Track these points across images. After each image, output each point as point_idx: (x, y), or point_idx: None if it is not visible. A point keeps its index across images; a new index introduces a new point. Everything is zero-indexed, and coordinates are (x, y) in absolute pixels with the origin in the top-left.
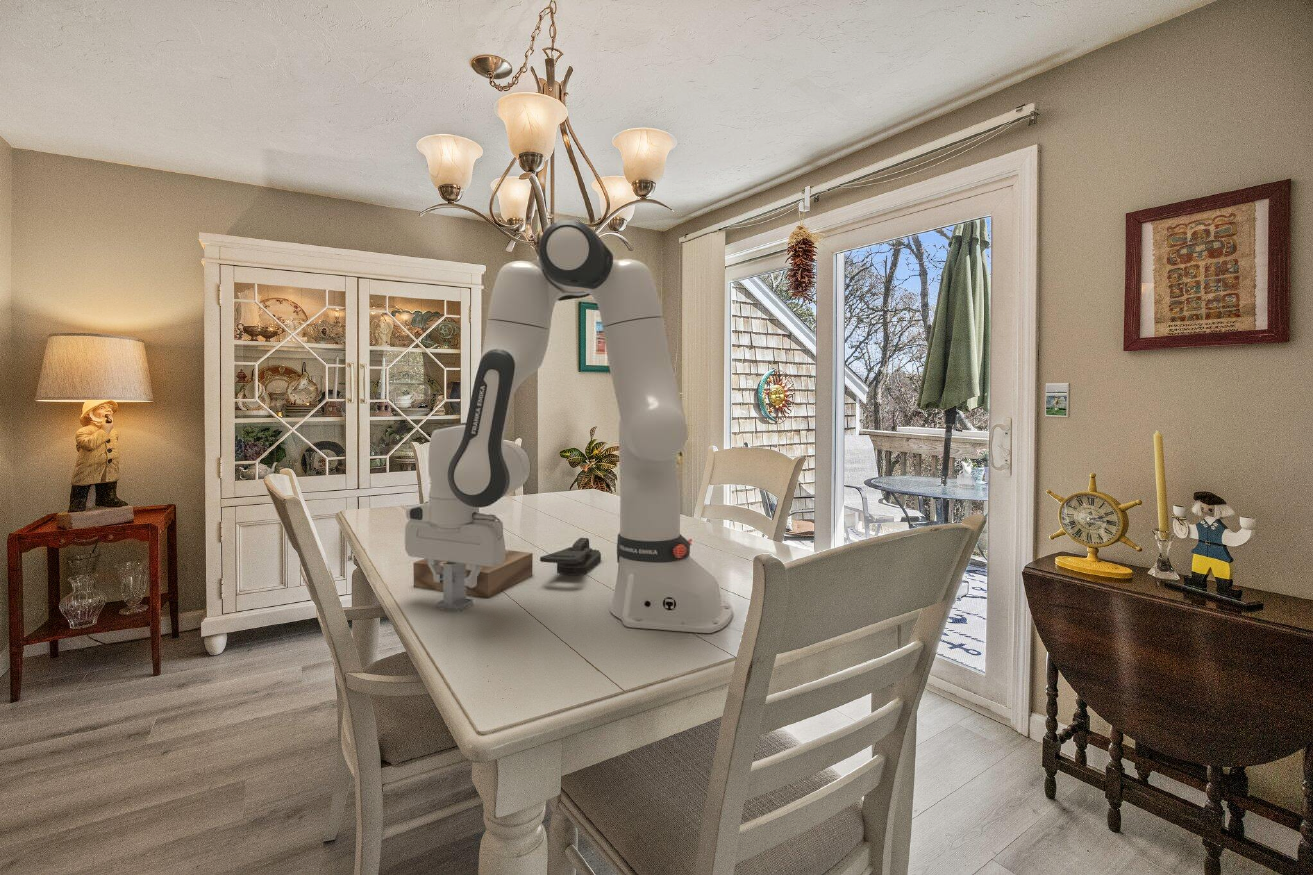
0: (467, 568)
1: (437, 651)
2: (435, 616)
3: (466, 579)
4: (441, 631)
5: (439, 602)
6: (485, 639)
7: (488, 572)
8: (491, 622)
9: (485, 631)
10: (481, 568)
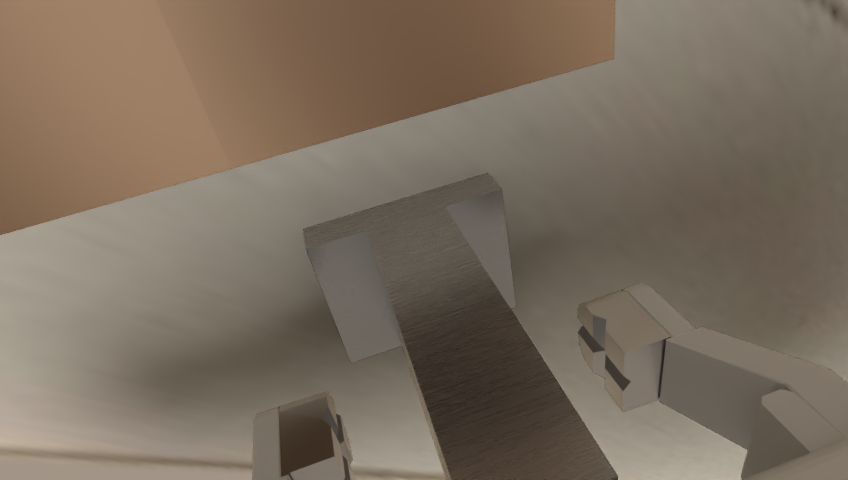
0: (207, 103)
1: (685, 472)
2: None
3: (639, 398)
4: (598, 423)
5: (362, 352)
6: (783, 353)
7: (607, 41)
8: (735, 258)
9: (753, 322)
10: (817, 370)
